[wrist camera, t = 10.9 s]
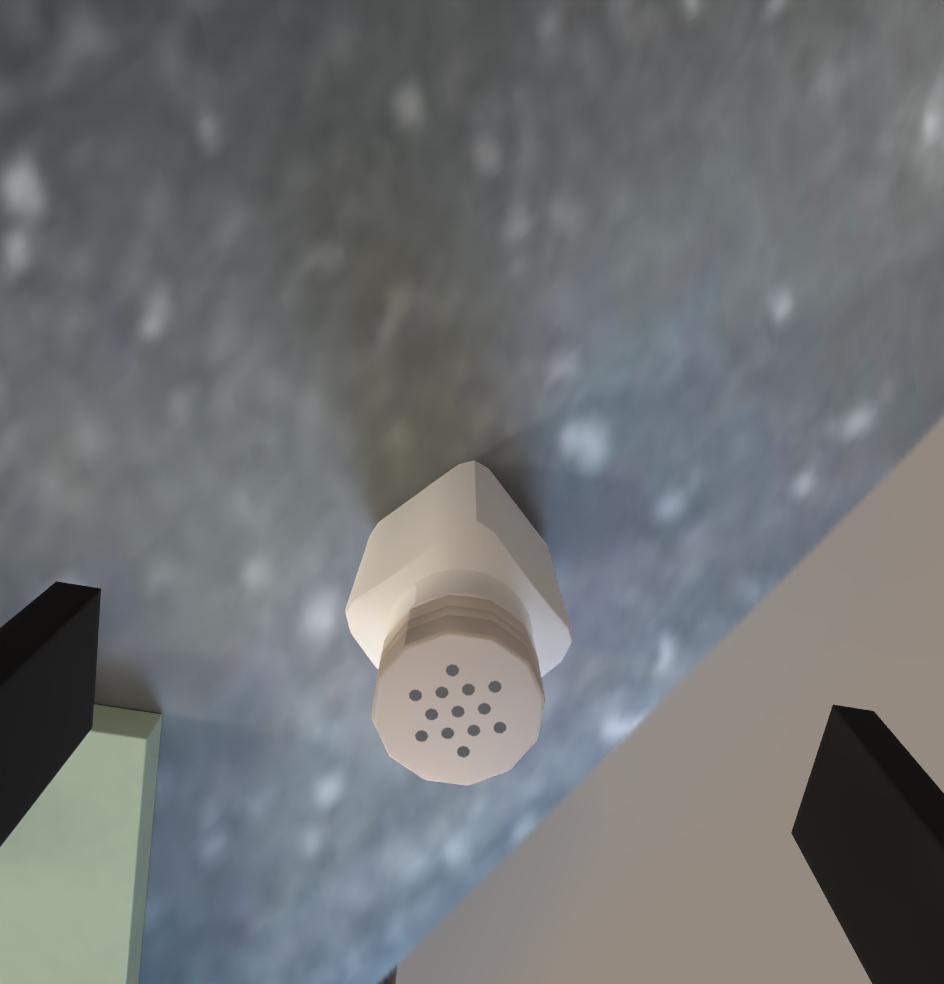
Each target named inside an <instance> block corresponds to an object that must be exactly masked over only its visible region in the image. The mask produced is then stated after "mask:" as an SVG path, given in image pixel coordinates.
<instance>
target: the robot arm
mask: <svg viewBox="0 0 944 984" xmlns="http://www.w3.org/2000/svg"><path fill="white" fill-rule="evenodd" d="M100 596H101V589H100V588H94V587H88V586H81V585H75V584H69V583H62V582H55V583H54V584H53V585H52V586H50V587H49V588H48V589H47V590H46V591H44V592H43V593H42V594H41V595H40V596H38V597H37V598H36V599H35V600H33V601H32V602H31V603H30V604H29V605H27V606H26V607H25V608H24V609H23V610H21V611H20V612H19V613H18V614H17V615H15V616H14V617H13V618H12V619H11V620H9V621H8V622H7V623H6V624H5V625H3V626H2V627H1V628H0V847H1V846H2V844H3V843H4V842H5V840H6V839H7V838H8V837H9V835H10V834H11V833H12V831H13V830H14V829H15V827H16V826H17V825H18V824H19V822H20V821H21V820H22V818H23V817H24V816H25V815H26V813H27V812H28V811H29V809H30V808H31V807H32V805H33V804H34V803H35V802H36V800H37V799H38V798H39V796H40V795H41V794H42V792H43V791H44V790H45V789H46V787H47V786H48V785H49V783H50V782H51V781H52V779H53V778H54V777H55V776H56V774H57V773H58V772H59V770H60V769H61V768H62V766H63V765H64V764H65V763H66V761H67V760H68V759H69V757H70V756H71V755H72V753H73V752H74V751H75V750H76V748H77V747H78V746H79V744H80V743H81V742H82V741H83V739H84V738H85V737H86V735H87V734H88V733H89V731H90V730H91V729H92V727H93V710H94V694H95V678H96V661H97V645H98V628H99V612H100ZM792 835H793V837H794V839H795V841H796V843H797V844H798V846H799V848H800V850H801V852H802V854H803V856H804V857H805V859H806V861H807V863H808V865H809V867H810V869H811V870H812V872H813V874H814V876H815V878H816V880H817V881H818V883H819V885H820V887H821V889H822V891H823V893H824V895H825V897H826V898H827V900H828V902H829V904H830V906H831V908H832V910H833V911H834V913H835V915H836V917H837V919H838V921H839V922H840V924H841V926H842V928H843V930H844V932H845V933H846V936H847V937H848V939H849V941H850V943H851V945H852V947H853V949H854V950H855V952H856V954H857V956H858V958H859V960H860V962H861V963H862V965H863V967H864V969H865V971H866V973H867V975H868V976H869V978H870V980H871V982H872V984H944V793H943V792H942V791H941V790H940V789H939V787H938V786H937V785H936V784H935V783H934V781H933V780H932V779H931V778H930V777H929V776H928V774H927V773H926V772H925V771H924V770H923V769H922V767H921V766H920V765H919V764H918V763H917V762H916V760H915V759H914V758H913V757H912V756H911V755H910V753H909V752H908V751H907V750H906V748H905V747H904V746H903V745H902V744H901V743H900V742H899V740H898V739H897V738H896V737H895V736H894V734H893V733H892V732H891V731H890V730H889V729H888V728H887V726H886V725H885V724H884V723H883V721H882V720H881V719H880V718H879V717H878V716H877V714H875V712H874V711H869V710H863V709H857V708H850V707H844V706H837V705H833V706H832V709H831V712H830V715H829V719H828V722H827V725H826V728H825V731H824V734H823V737H822V741H821V743H820V746H819V750H818V752H817V755H816V759H815V762H814V765H813V768H812V771H811V774H810V777H809V780H808V783H807V786H806V789H805V792H804V796H803V799H802V802H801V805H800V808H799V811H798V814H797V817H796V820H795V823H794V826H793V829H792Z"/></svg>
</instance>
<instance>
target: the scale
mask: <svg viewBox="0 0 944 984" xmlns="http://www.w3.org/2000/svg"><path fill="white" fill-rule="evenodd" d="M161 724H162V715H161V714H155V713H149V712H142V711H136V710H129V709H122V708H116V707H109V706H102V705H96V704H94V710H93V727H92V729H91V730H90V731H89V733H88V734H87V735H86V737H85V738H84V739H83V741H82V742H81V743H80V744H79V746H78V747H77V748H76V750H75V751H74V752H73V753H72V755H71V756H70V757H69V759H68V760H67V761H66V763H65V764H64V765H63V766H62V768H61V769H60V770H59V772H58V773H57V774H56V776H55V777H54V778H53V779H52V781H51V782H50V783H49V785H48V786H47V787H46V789H45V790H44V791H43V792H42V794H41V795H40V796H39V798H38V799H37V800H36V802H35V803H34V804H33V805H32V807H31V808H30V809H29V811H28V812H27V813H26V815H25V816H24V817H23V818H22V820H21V821H20V822H19V824H18V825H17V826H16V827H15V829H14V830H13V831H12V833H11V834H10V835H9V837H8V838H7V839H6V840H5V842H4V843H3V844H2V846H1V847H0V984H139V973H140V962H141V950H142V939H143V928H144V916H145V905H146V894H147V882H148V871H149V860H150V848H151V837H152V826H153V815H154V803H155V792H156V781H157V769H158V758H159V747H160V735H161Z"/></svg>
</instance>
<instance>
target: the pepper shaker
mask: <svg viewBox="0 0 944 984" xmlns="http://www.w3.org/2000/svg"><path fill="white" fill-rule="evenodd" d="M345 612H346V616H347V620H348V624H349V628H350V632H351V634H352V635H353V637H354V638H355V639H356V641H357V642H358V644H359V645H360V646H361V648H362V649H363V651H364V652H365V653H366V655H367V656H368V657H369V659H370V660H371V661H372V663H373V664H374V665H375V666H376V668H377V669H378V674H377V679H376V687H375V695H374V702H373V710H372V718H371V719H372V721H373V723H374V725H375V727H376V729H377V731H378V733H379V735H380V737H381V740H382V742H383V744H384V746H385V748H386V750H387V752H388V754H389V756H390V757H392V758H393V759H395V760H396V761H398V762H399V763H401V764H402V765H403V766H405V767H406V768H408V769H409V770H411V771H412V772H414V773H415V774H417V775H418V776H420V777H421V778H423V779H424V780H428V781H436V782H444V783H452V784H460V785H471V784H474V783H477V782H479V781H482V780H485V779H488V778H491V777H494V776H497V775H499V774H502V773H505V772H508V771H509V770H510V769H511V768H512V767H513V766H514V765H515V764H516V763H517V762H518V761H519V760H520V758H521V757H522V756H523V755H524V754H525V753H526V752H527V751H528V750H529V749H530V747H531V746H532V745H533V744H534V743H535V742H536V741H537V740H538V735H539V730H540V724H541V719H542V714H543V708H544V703H545V696H544V691H543V685H542V681H541V677H543V676H544V675H545V674H546V673H548V672H549V671H550V670H551V669H553V668H554V667H555V666H556V665H558V664H559V663H560V662H561V661H562V659H563V658H564V656H565V654H566V652H567V650H568V648H569V647H570V645H571V643H572V641H573V640H572V635H571V631H570V627H569V623H568V619H567V615H566V611H565V608H564V604H563V600H562V596H561V593H560V589H559V585H558V582H557V578H556V574H555V570H554V567H553V563H552V559H551V555H550V552H549V548H548V545H547V544H546V543H545V542H544V540H543V539H542V538H541V536H540V535H539V534H538V532H537V531H536V530H535V528H534V527H533V526H532V524H531V523H530V522H529V521H528V519H527V518H526V517H525V515H524V514H523V513H522V511H521V510H520V509H519V507H518V506H517V505H516V503H515V502H514V501H513V500H512V498H511V497H510V496H509V494H508V493H507V492H506V490H505V489H504V488H503V486H502V485H501V484H500V483H499V481H498V480H497V479H496V477H495V476H494V475H493V473H492V472H491V471H490V469H489V468H487V467H485V466H484V465H482V464H480V463H478V462H477V461H475V460H474V461H470V462H465V463H461V464H458V465H457V466H455V467H454V468H452V469H451V470H450V471H448V472H447V473H445V474H444V475H443V476H441V477H440V478H439V479H437V480H436V481H434V482H433V483H432V484H430V485H429V486H428V487H426V488H425V489H423V490H422V491H421V492H419V493H418V494H417V495H415V496H414V497H412V498H411V499H410V500H408V501H407V502H406V503H404V504H403V505H401V506H400V507H399V508H397V509H396V510H394V511H393V512H392V513H390V514H389V515H388V516H386V517H385V518H383V519H382V520H381V521H379V522H378V523H377V525H376V526H375V528H374V530H373V531H372V533H371V535H370V537H369V540H368V543H367V546H366V549H365V552H364V555H363V558H362V561H361V564H360V567H359V570H358V573H357V576H356V579H355V582H354V585H353V588H352V591H351V594H350V597H349V600H348V603H347V606H346V609H345Z"/></svg>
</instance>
